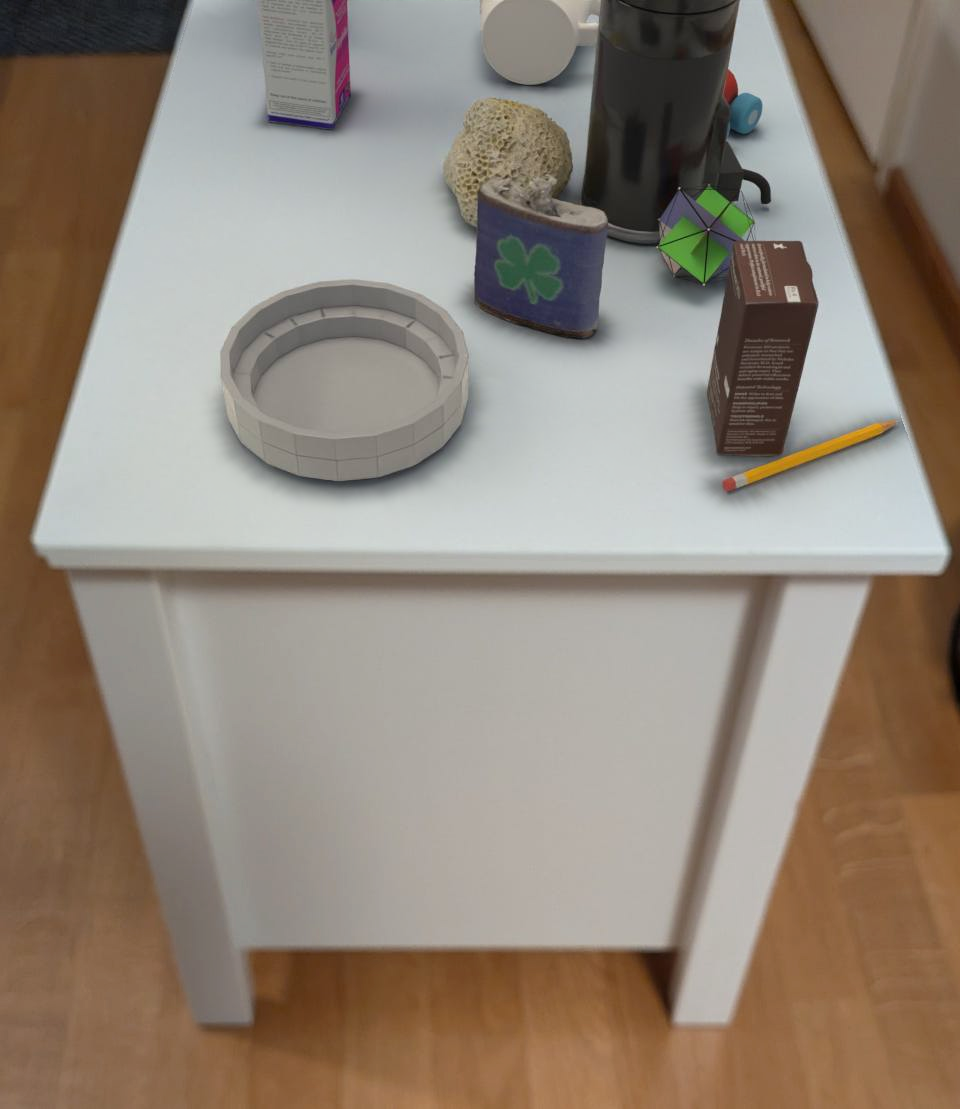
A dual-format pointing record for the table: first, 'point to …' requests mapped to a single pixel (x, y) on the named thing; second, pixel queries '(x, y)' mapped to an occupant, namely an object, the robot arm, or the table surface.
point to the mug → (535, 36)
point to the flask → (539, 257)
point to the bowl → (345, 379)
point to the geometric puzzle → (701, 232)
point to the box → (761, 346)
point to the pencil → (806, 455)
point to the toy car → (741, 107)
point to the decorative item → (505, 151)
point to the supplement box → (305, 60)
